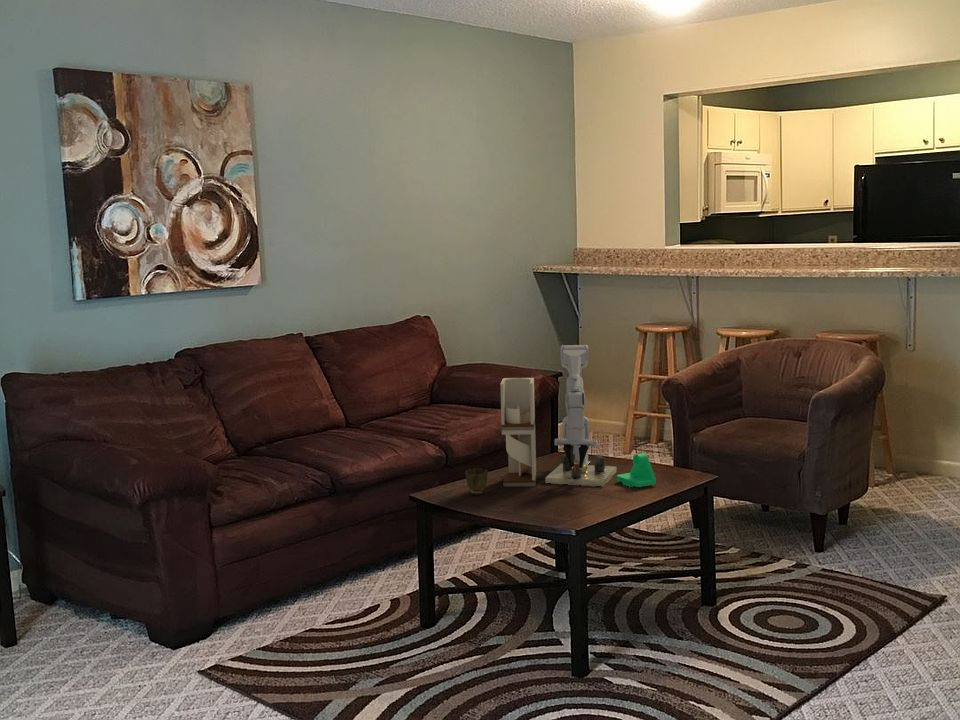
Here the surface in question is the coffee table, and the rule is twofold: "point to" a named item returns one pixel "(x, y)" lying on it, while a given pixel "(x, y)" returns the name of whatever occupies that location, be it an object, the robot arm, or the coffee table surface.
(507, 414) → the white dispenser tower
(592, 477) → the base
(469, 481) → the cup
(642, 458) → the camera mount
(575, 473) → the tan-ended square prism
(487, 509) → the coffee table surface
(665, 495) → the coffee table surface
